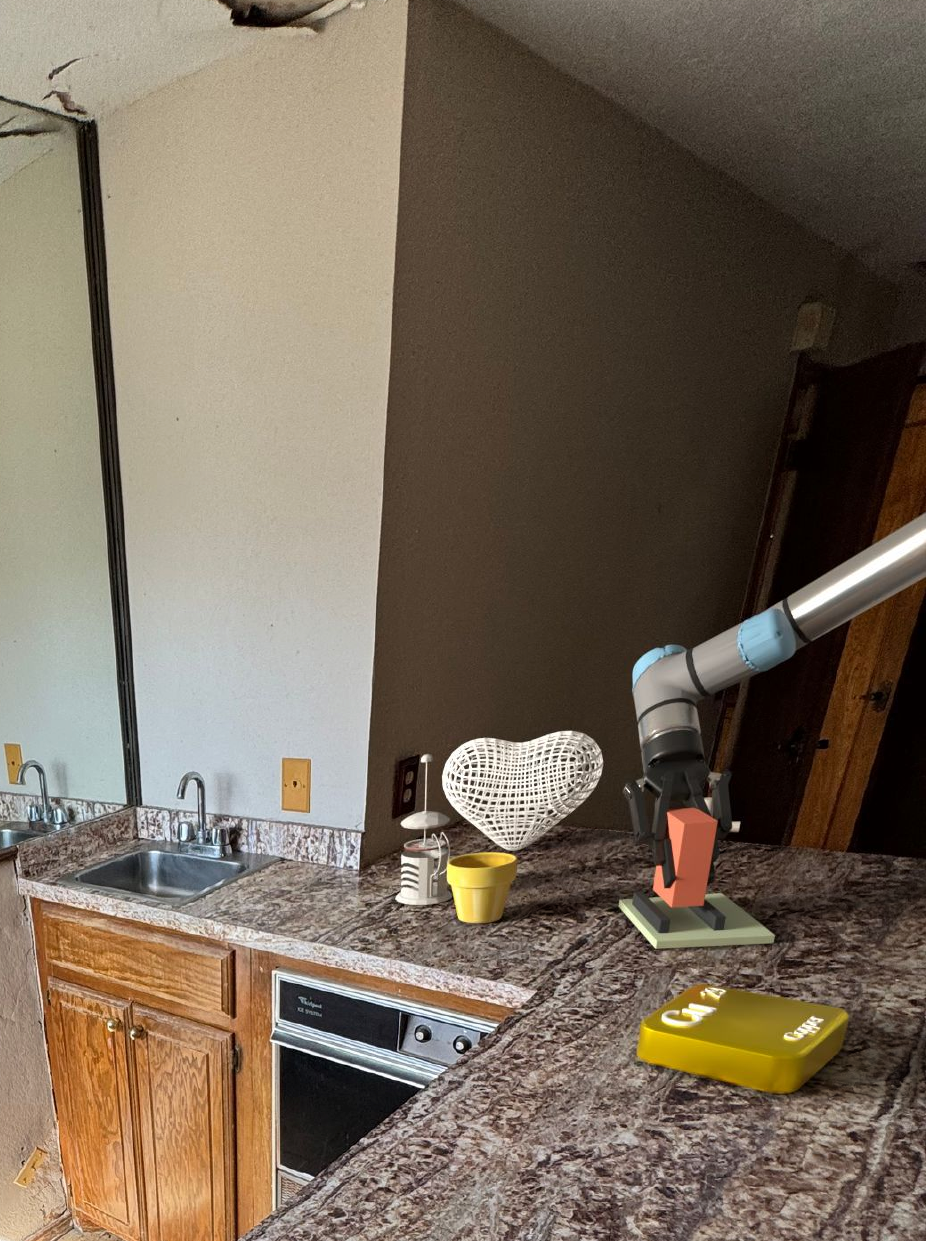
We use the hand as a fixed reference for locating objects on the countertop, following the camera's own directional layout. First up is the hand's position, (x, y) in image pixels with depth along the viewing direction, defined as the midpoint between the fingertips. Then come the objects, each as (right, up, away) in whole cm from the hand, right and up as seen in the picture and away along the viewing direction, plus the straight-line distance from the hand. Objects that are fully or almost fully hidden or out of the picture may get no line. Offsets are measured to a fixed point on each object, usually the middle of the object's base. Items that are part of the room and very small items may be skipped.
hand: (689, 882), depth 125 cm
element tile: (-15, -25, -28) cm, 41 cm away
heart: (+2, +18, +53) cm, 56 cm away
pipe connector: (+25, +12, +33) cm, 43 cm away
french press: (-23, +4, +35) cm, 42 cm away
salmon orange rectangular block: (+2, -1, +5) cm, 5 cm away
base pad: (+4, -5, +6) cm, 9 cm away
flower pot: (-20, -1, +22) cm, 30 cm away
